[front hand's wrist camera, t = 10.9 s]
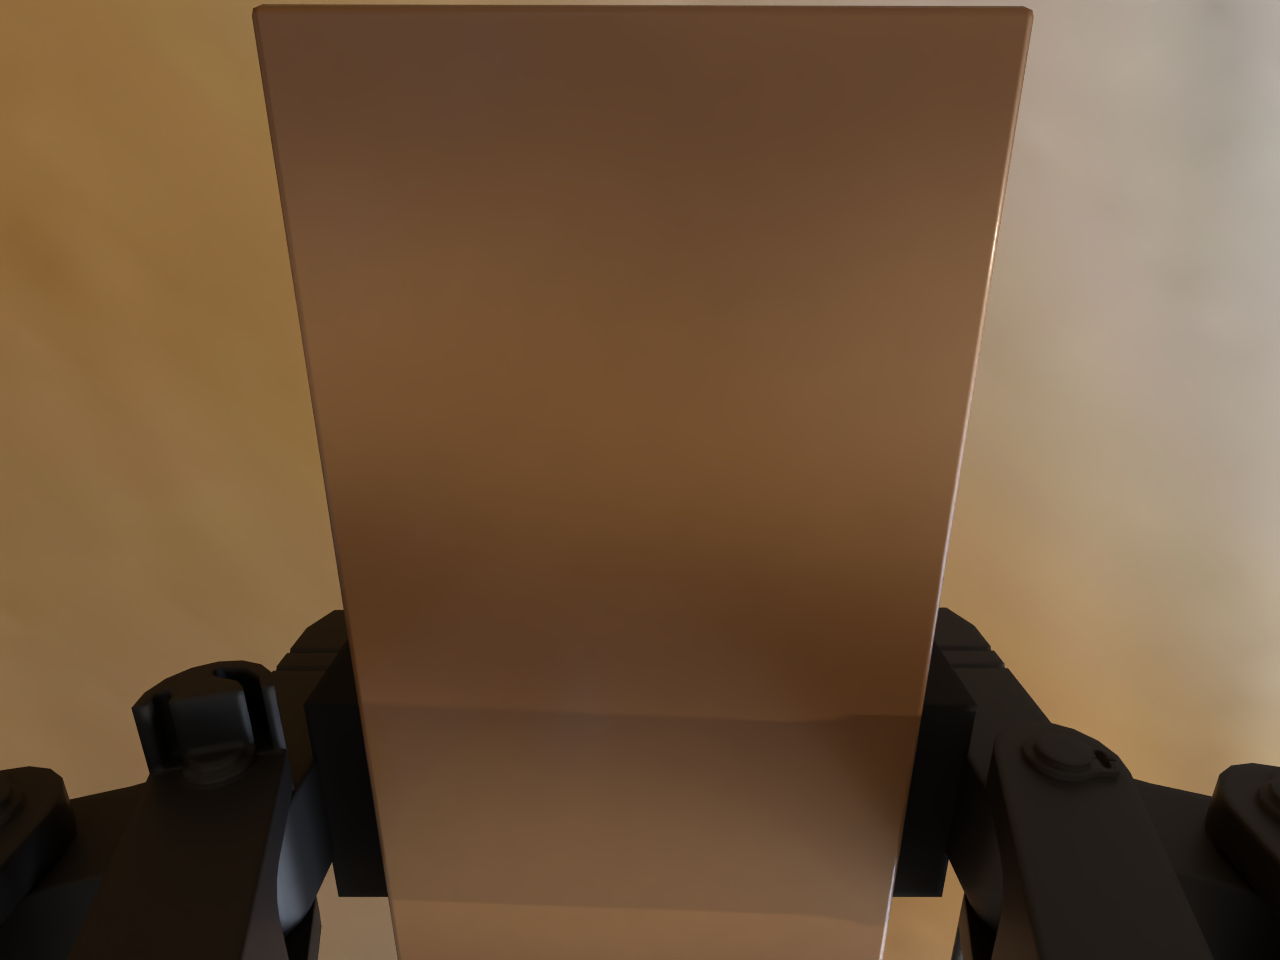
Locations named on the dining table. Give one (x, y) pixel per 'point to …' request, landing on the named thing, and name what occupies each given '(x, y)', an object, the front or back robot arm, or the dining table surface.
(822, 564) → the beam
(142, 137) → the dining table surface
